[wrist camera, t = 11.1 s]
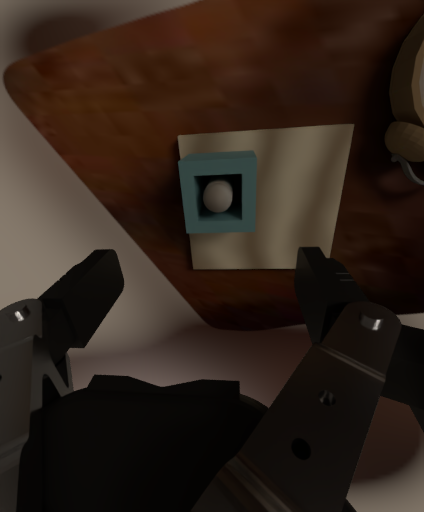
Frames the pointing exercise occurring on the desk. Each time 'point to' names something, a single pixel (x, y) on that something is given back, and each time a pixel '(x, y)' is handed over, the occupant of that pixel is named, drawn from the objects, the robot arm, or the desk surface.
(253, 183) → the teal square frame
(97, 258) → the robot arm
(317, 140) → the post board
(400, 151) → the alarm clock
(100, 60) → the desk surface
